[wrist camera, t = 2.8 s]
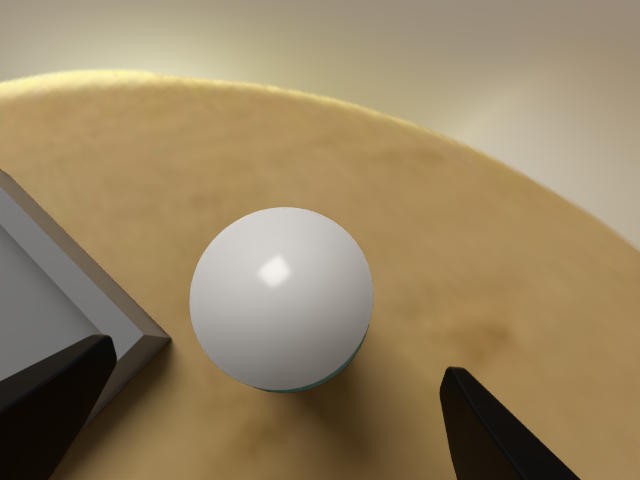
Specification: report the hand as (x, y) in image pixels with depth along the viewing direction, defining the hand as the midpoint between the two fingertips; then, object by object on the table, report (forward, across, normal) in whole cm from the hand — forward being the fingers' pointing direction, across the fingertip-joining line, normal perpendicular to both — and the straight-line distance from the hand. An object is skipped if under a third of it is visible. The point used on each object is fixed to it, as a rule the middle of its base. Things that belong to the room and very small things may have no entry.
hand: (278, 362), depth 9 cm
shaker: (+8, 0, +5) cm, 9 cm away
